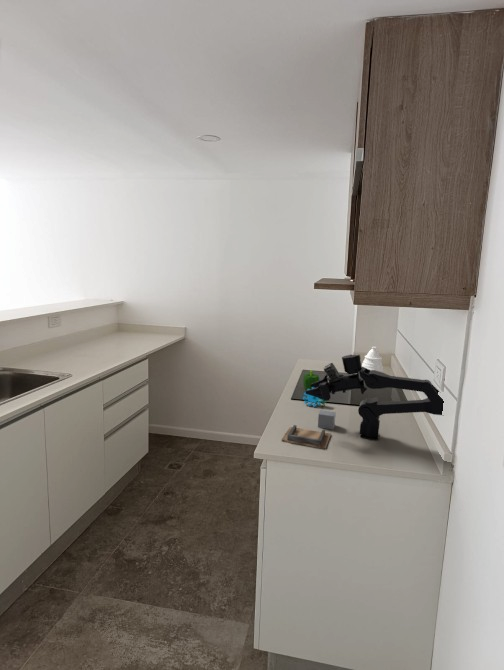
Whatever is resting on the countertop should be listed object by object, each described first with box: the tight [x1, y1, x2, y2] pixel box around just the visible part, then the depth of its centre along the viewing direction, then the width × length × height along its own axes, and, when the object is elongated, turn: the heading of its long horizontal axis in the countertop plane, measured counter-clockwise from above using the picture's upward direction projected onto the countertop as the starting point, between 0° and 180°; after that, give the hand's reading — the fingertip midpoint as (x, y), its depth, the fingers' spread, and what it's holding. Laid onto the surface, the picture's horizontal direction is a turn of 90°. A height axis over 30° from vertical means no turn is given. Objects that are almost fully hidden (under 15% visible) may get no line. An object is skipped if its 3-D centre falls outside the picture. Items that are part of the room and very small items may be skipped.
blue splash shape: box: [302, 387, 327, 408], centre depth 195 cm, size 11×6×10 cm
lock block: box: [317, 409, 337, 430], centre depth 169 cm, size 6×5×6 cm
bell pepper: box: [302, 369, 320, 391], centre depth 216 cm, size 8×8×10 cm
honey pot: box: [361, 346, 384, 373], centre depth 247 cm, size 13×13×18 cm
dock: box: [281, 424, 332, 450], centre depth 157 cm, size 16×13×2 cm
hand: (308, 388), depth 167 cm, fingers open, 9 cm apart
